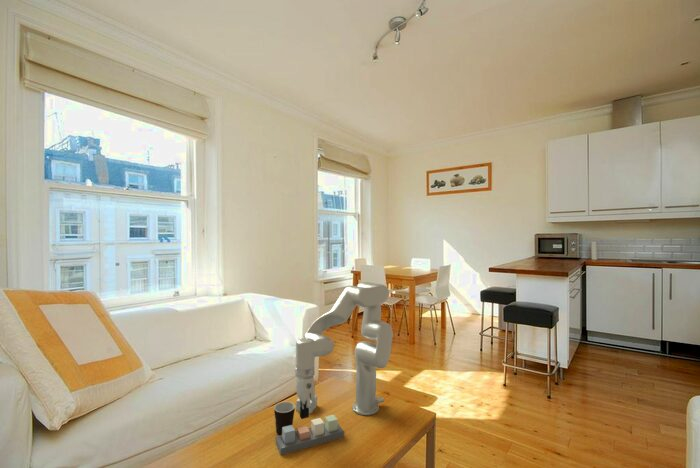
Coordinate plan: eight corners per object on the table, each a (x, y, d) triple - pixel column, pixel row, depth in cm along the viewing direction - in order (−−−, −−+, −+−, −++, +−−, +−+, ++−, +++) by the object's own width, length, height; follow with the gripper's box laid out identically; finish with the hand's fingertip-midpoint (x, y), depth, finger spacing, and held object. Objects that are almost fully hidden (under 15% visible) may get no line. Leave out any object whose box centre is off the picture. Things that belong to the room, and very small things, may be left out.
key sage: (333, 425, 136) (333, 414, 136) (337, 430, 132) (337, 419, 132) (324, 427, 134) (324, 416, 134) (328, 432, 130) (328, 421, 130)
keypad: (335, 426, 138) (335, 420, 138) (343, 437, 131) (343, 431, 131) (275, 442, 126) (275, 436, 127) (280, 455, 119) (280, 448, 119)
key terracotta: (306, 437, 130) (306, 425, 130) (309, 442, 127) (309, 431, 127) (296, 439, 128) (296, 428, 128) (299, 445, 125) (300, 433, 125)
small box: (295, 411, 150) (295, 400, 150) (302, 403, 158) (302, 392, 158) (310, 414, 148) (311, 403, 148) (317, 405, 156) (317, 395, 156)
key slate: (291, 436, 127) (292, 424, 127) (294, 442, 124) (295, 430, 124) (281, 438, 126) (282, 427, 126) (284, 444, 122) (284, 432, 122)
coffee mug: (289, 438, 129) (290, 413, 130) (269, 435, 131) (270, 410, 131) (300, 422, 141) (300, 399, 141) (281, 420, 142) (282, 397, 143)
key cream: (320, 428, 133) (320, 417, 133) (323, 434, 129) (324, 422, 129) (310, 431, 131) (311, 420, 131) (314, 436, 127) (314, 425, 128)
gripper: (320, 376, 123) (320, 424, 123) (307, 362, 136) (307, 406, 136) (301, 380, 120) (301, 429, 119) (290, 365, 133) (289, 410, 133)
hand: (304, 417), depth 128 cm, fingers closed
